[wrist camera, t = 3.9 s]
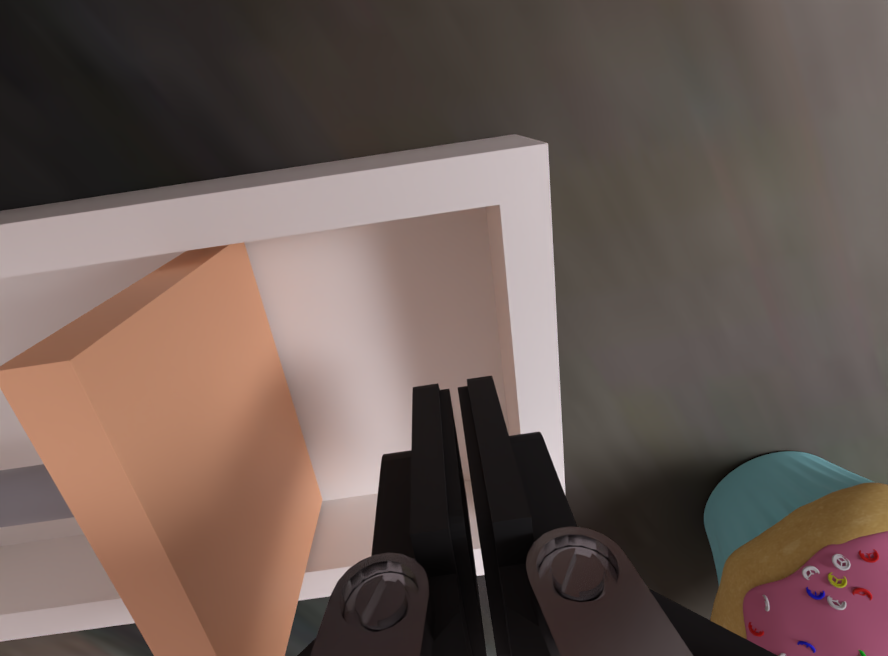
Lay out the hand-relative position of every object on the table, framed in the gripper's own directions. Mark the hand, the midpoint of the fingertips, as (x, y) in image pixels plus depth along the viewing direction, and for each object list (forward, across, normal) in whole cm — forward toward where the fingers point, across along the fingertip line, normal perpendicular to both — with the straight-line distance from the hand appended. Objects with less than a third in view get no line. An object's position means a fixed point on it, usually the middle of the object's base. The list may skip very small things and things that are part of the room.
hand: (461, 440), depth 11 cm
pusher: (+4, +8, 0) cm, 9 cm away
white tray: (+5, +7, 0) cm, 9 cm away
